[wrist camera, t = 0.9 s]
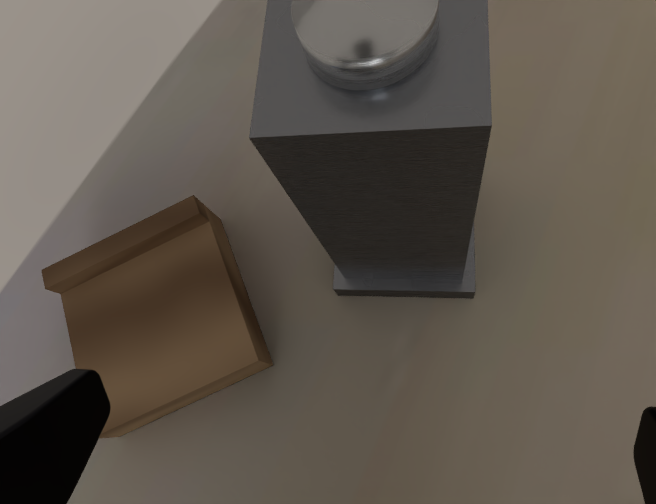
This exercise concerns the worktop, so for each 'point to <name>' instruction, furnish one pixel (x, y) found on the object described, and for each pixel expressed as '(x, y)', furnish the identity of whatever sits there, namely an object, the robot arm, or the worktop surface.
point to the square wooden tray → (159, 314)
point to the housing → (380, 135)
